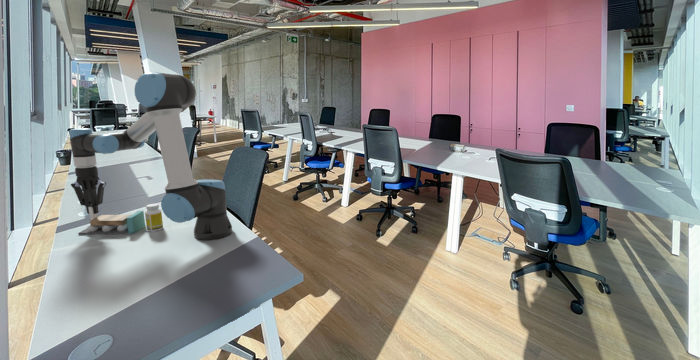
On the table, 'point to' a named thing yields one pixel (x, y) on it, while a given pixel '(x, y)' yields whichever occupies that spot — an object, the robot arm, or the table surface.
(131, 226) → the roller bed
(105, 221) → the slab
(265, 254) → the table surface
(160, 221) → the pill bottle
